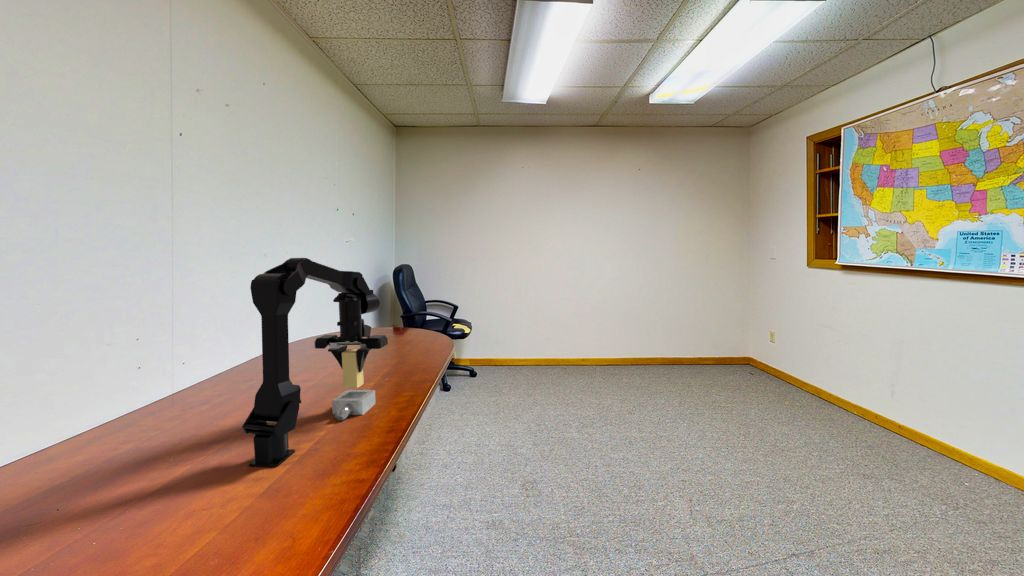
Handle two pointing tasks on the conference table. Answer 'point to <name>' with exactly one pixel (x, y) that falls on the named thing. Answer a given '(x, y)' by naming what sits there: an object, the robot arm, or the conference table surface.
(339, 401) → the bracket head
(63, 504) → the conference table surface
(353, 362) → the butter yellow block
